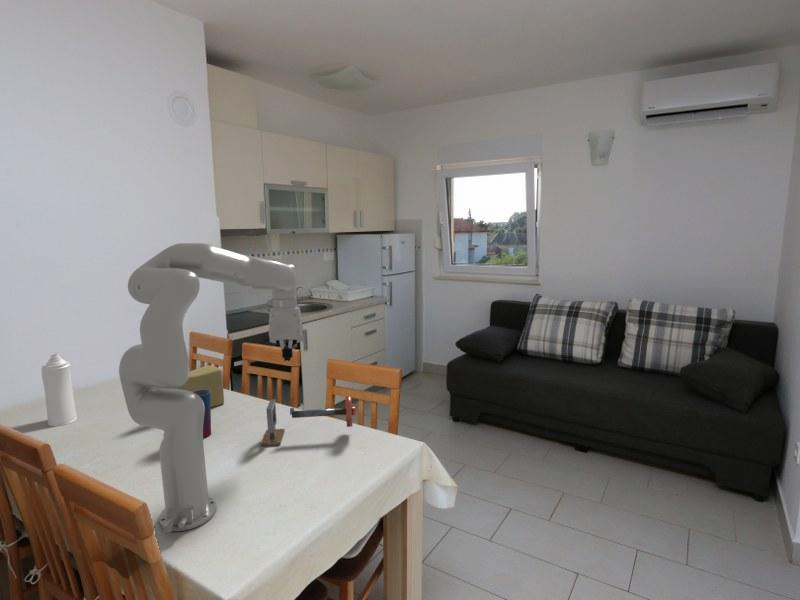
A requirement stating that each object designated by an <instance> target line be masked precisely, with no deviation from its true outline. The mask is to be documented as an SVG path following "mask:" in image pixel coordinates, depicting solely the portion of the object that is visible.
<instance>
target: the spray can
mask: <svg viewBox="0 0 800 600" xmlns="http://www.w3.org/2000/svg"><path fill="white" fill-rule="evenodd" d="M41 378H42V379H41V380H42V383H43V388H44V394H45V405H46V414H47V415H46V416H47V425H48V426H51V427H59V426H61V427H62V426H65V425H69V424H72V423H73V422H75V421H77V419H78V416H77V408H76V404H75V403H76V402H75V397H74V392H73V383H72V373H71V363H70V361H69V360H65V359H63V357H61V355H60V354H59V351H55V352H52V353H51V354H50V358H49V359H48V361H47V362H46V363H44V364H42V365H41Z"/></svg>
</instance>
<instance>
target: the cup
mask: <svg viewBox="0 0 800 600" xmlns="http://www.w3.org/2000/svg"><path fill="white" fill-rule="evenodd" d="M191 392H193V393H195V394H197V395H198V396H200V397H201V399H202V400H203V402H204V405H205V415H204V422H203V439H205V438H209V437H211V435H212V412H211V411H212V410H211V408H212V407H211V401H210V390H208V389H199V390H194V391H191Z"/></svg>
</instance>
